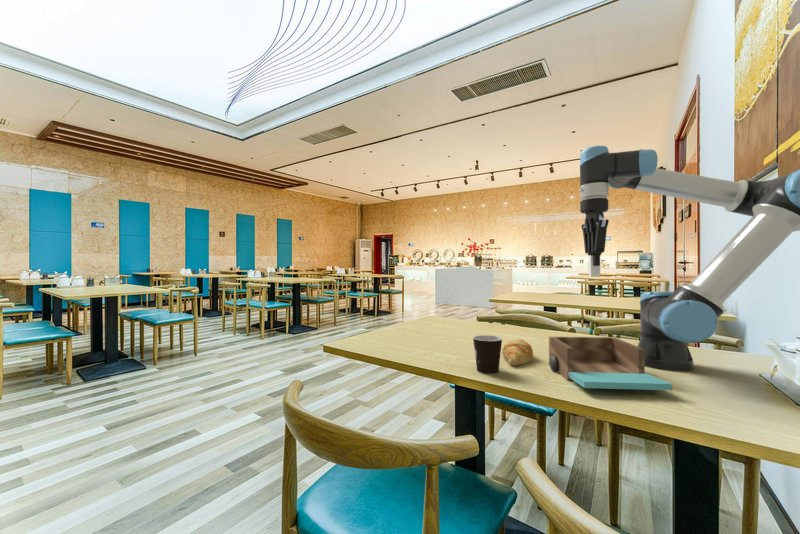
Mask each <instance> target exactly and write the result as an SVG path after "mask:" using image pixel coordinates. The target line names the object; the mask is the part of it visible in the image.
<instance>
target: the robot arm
mask: <svg viewBox="0 0 800 534" xmlns="http://www.w3.org/2000/svg"><path fill="white" fill-rule="evenodd" d="M579 156H580V159H579V160H580V161H579V183H580V184H579V186H580V187H579V189H578V192H579V193H580V196H579V197H580V198H579V199H581V201H580V203H579V206H580V208H579V209H580V211H579V212H580V213H581V214H584V215H585V218H584V224H583V223H582V224H581V229H582V234H583V235H582V237H583V245H584V246H583V247H584V253H585V254H587V255H588V277H589V278H600V277H601V256H602V254H603V253H605V248H606V240H607V239H606V238H607V230H608V225H609V219H605V215H604V213H607V212H608V211H609V199H608V198H609V195H610V194H609V189H610V188H611V189H613V190H614V189H616V190H617V189H622V188H625V189H630V190H635V191H636V190H637V191H640V192H641V191H642V192H646V193H652V194H655V195H661V196H666V197H672V198H677V199H682V200H687V201H692V202H698V203H703V204H707V205H711V206H712V205H713V206H716V207H717V206H718V207H722V208H724V210H725V211H727V212H729V213H735V214H739V215H745V216H749V217H751V218H750V219H749V220H748V221H747V222H746V224H745V225H743V226H742V227H741V229H739V231H737V233H736V234H735V235H733V237H732V238H731V239H730V240H729V241H728V242H727V244H725V246H724V247H723V248H722V249H720V251H719V252H718V253H717V254H716V255H715V257H713V259H712V260H711V261H709V263H707V265H706V266H705V267H704V268H703V269H702V270H701V271H700V272H699V273H698V274H697V275H696V276H695V278H694V279H692V281H691V282H690V283H688V284H682V285H681V284H680V285H678V286H677V287H676V289H675V290H674V291H645V292H642V293H641V295H640V300H639V305H640V306H639V307H640V309H639V310H640V311H639V312H640V315H639V317H640V339H639V341H638V343H637V345H636V346H637V347H640V348H642V349H644V362H645V367H648V368H649V367H650V368H653V369H654V368H655V369H660V370H667V371H677V372H678V371H682V372H683V371H690V370H693V369H694V365H695V364H694V363H695V361H694V359H693V356H692V353H691V351H690V349H689V345H688V344H689V343H690V344H691V343H692V344H693V343H694V344H695V343H699V342H704V341H705V340H708V339H709V338H711V337H712V336H713V335H714V334H715V332H716V331H717V328H718V325H719V323H718V319H719V318H720V317H721V316H722V315H723V314H724V312H725V307H724V303H725V301H726V300H727V299H728V298H729V297H730V296H731V295H732V294H733V293H735V292H736V290H738V288H739V287H741V285H742V284H744V282H745V281H746V280H748V278H750V276H751V275H752V274H753V273H754V272H755V271H756V270H757V269H758V268H759V267H761V265H762V264H763V263H764V262H765V261H766V260H767V259H768V258H769V257H770V256H771V255H772V254H773V253H774V252H775V251H776V250H777V249H778V248H779V247H780V245H782V243H784V242H785V240H786V239H787V238H789V237H790V235H791V234H792V233H793V232H799V231H800V168H799V169H796V170H794V171H793V172H791V173H788V174H784V175H781V176H778V177H776V178H772V179H768V180H756V181H755V180H748V179H741V180H739V181H732V180H726V179H719V178H715V177H708V176H703V175H697V174H691V173H688V172H687V173H686V172H680V171H676V170H675V171H674V170H670V169H669V170H668V169H664V168H663V169H662V168H658V160H659V157H658V154H657V151H656V150H655V149H653V148H651V149H650V148H649V149H648V148H647V149H643V148H642V149H641V148H640V149H636V150H627V151H626V150H625V151H619V152H610V151H609V148H608V147H607V146H606V145H594V146H589V147H586V148H584V149H583V150H582V151H581V152H580V155H579Z"/></svg>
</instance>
